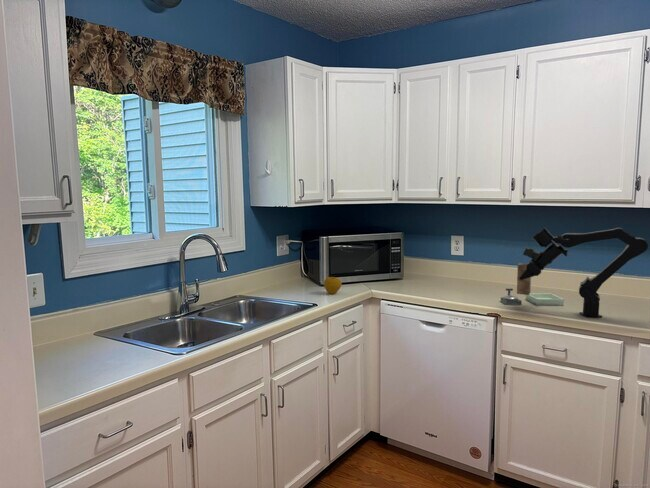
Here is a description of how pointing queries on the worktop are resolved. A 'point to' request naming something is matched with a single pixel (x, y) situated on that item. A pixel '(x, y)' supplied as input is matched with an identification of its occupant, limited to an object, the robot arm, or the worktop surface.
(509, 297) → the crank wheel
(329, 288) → the apple
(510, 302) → the crank base
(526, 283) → the block
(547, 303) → the tray
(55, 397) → the worktop surface
